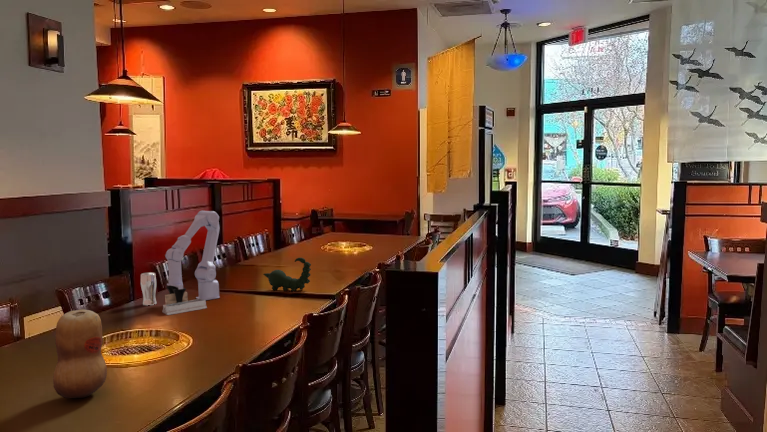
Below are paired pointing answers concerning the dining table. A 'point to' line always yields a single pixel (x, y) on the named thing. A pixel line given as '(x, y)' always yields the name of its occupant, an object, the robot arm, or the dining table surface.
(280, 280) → the toy figurine
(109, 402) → the dining table surface
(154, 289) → the beer glass
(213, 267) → the robot arm
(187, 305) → the door track
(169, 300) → the door panel
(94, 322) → the butternut squash
